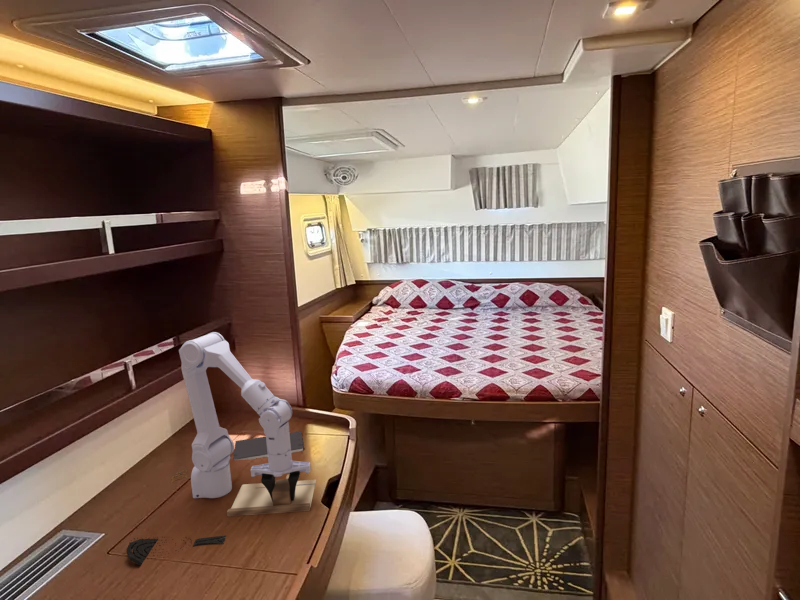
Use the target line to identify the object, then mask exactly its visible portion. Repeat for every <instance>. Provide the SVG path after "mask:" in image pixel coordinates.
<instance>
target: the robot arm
mask: <svg viewBox="0 0 800 600" xmlns="http://www.w3.org/2000/svg"><path fill="white" fill-rule="evenodd" d="M230 348H231V347H230V344H229V342H228V341H227V340H226V339H225V338H224V336H223V335H222V334H220V332H217V331H212V332H209V333H207V334H205V335H202V336H199V337H196V338H193V339H190V340H187V341H185V342H184V343H183V344H182V346H181V347H180V348H179V349H178V353H179V358H180V361H181V368H180V369H181V372H182V377H183V381H184V384H185V389H186V393H187V396H188V401H189V405H190V409H191V412H192V416H193V420H194V425H195V428H196V432H197V433H196V436H195V437H194V440H193V441H192V443H191V449H192V454H191V461H192V464H193V468H192V469H191V470H192V471H191V473H190V483H191V484H190V485H191V491H192V498H193V499H199V498H200V499H201V498H206V499H216V498H221V497H224V496H226V495H228V493H230V492H231V491H232V489H233V483H232V474H231V465H230V460H231V454H232V453H234V450H235V444H234V441H233V439H232V438H231V437H230V434H229V432H228V429H227V428H223V427H221V425H220V423H219V419H218V415H217V412H216V407H215V403H214V399H213V395H212V394H213V393H212V391H211V387H210V384H209V379H208V375H207V369H208V368H218V369H220V370H221V371H222V372H223V373H224V374H225V375H226V376H227V377H228V378H229V379H230V380H231V381H232V382H234V383H235V384H236V385H237V386H238V387H239V388H240V389H241V391H240V395H241V397H242V398H243V399H244V400H245V402H246V403H247V404H249V406H250V407H251V408H252V409H253V410H254V411H255V412H256V414H257V415H258V416H259V418H258V422H259V424H260V426H261V427H262V428H263V433H264V435H265V437H266V442H267V453H268V457H267V461H268V462H267V463H262V464H256V465H252V466H251V467H250V476H251V477H252V478H254V477H256V476H261V480H260V481H261V482H260V483H262V484H263V485H264V486H265V487H266V489H267V490H268V492H269V494H270V496H271V499H272V502H273V497H272V491H273V489H274V486H275V482H276V477H278V478H279V477H283V475H287V474H290V475H289V478H288V481H289V486H290V498H291V501H294V498H295V489H296V484H297V481H299V478H300V475H301V473H306V474H310V472H311V470H312V469H311V461H298V460H293V457H292V453H291V444H290V433H291V432H290V425H289V424H290V422H289V420H290V419H291V418H292V416H293V408H292V406H291V405H290V403H289V401H288V400H286V399H283V398H279V397H278V396H275V394H273V393H272V391H271V390H270V389H269V388H268V387H267V385H266V383H265V382H264V381H262V380H261V379H255V378H252V377H251V375H250V374H249V373H248V372H247V371H246V369H245V368H244V367H243V366H242V364H241V363H240V361H239V360H238V359H237V358H236V357H235V355H234V354H233V353H232V352H231V349H230Z"/></svg>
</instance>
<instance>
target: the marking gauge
mask: <svg viewBox="0 0 800 600" xmlns="http://www.w3.org/2000/svg"><path fill="white" fill-rule="evenodd" d="M289 475H290V473H286V476H285V478H279V479H275V482H276V483H275V486H274V489H273V491H272V497H273V506H276V505H290V504H291V502H292V501H291V498H290V486H289V481H288V478H289Z"/></svg>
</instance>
